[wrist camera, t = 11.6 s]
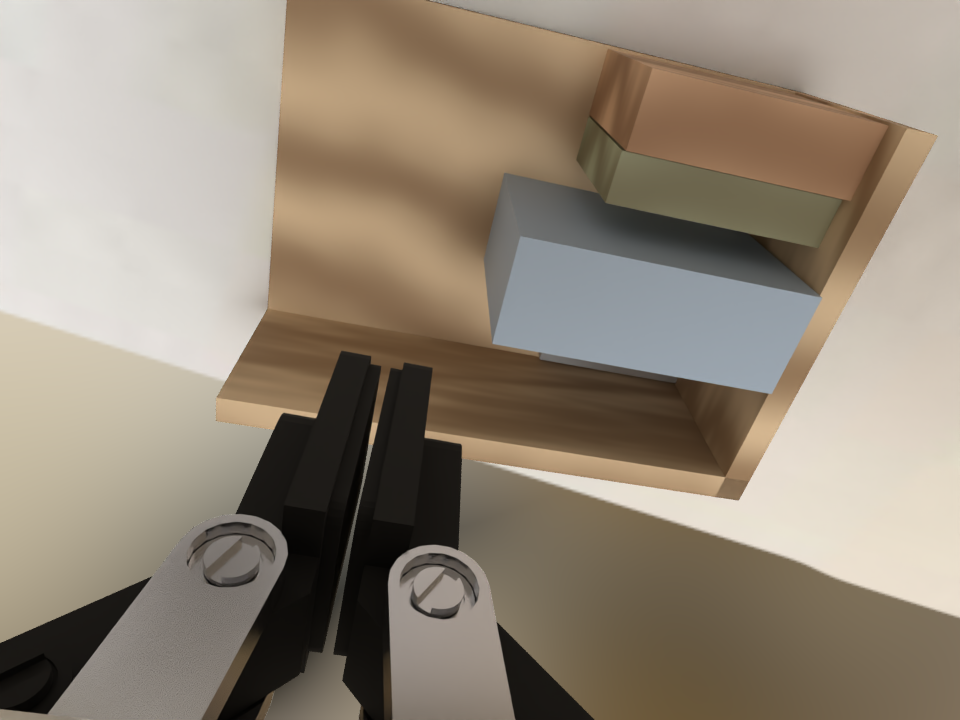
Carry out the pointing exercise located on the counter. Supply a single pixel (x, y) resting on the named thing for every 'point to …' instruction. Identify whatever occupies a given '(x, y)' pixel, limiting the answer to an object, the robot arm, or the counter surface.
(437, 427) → the shelf
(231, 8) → the counter surface
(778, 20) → the counter surface
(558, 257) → the boxed book
